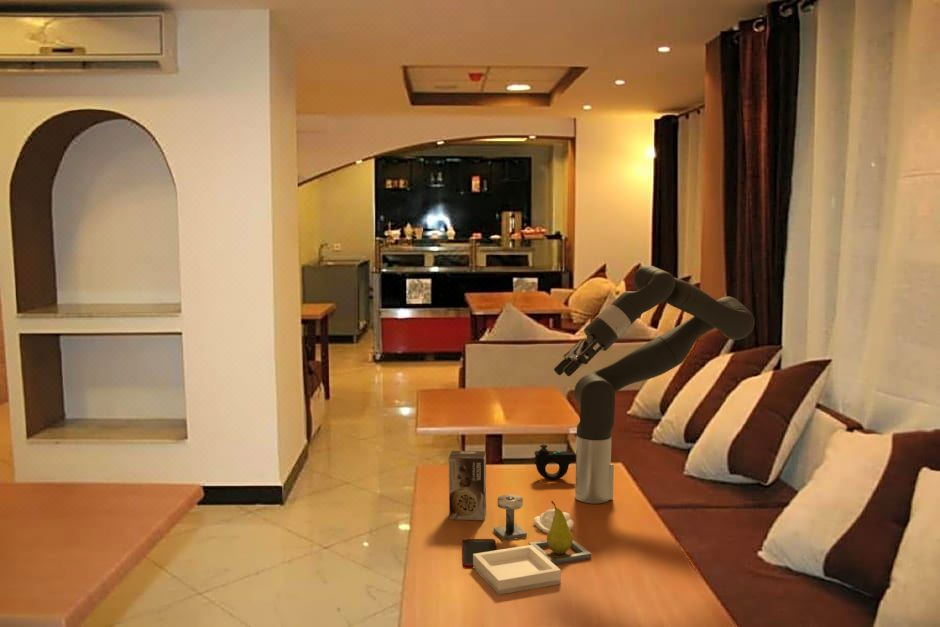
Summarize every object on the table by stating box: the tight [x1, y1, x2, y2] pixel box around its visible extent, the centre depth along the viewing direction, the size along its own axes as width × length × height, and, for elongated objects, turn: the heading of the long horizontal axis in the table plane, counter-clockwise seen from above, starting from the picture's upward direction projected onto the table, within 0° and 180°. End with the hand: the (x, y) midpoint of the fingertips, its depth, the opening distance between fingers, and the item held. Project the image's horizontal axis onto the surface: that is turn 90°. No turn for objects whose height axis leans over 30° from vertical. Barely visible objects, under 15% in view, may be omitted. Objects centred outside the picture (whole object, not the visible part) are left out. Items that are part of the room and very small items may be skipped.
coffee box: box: [448, 450, 487, 521], centre depth 210 cm, size 9×6×16 cm
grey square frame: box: [528, 539, 592, 566], centre depth 188 cm, size 10×10×1 cm
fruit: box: [546, 500, 574, 555], centre depth 187 cm, size 6×6×12 cm
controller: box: [533, 444, 576, 481], centre depth 239 cm, size 4×12×10 cm, turn 90°
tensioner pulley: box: [493, 494, 528, 541], centre depth 198 cm, size 6×6×9 cm
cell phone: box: [461, 538, 498, 569], centre depth 187 cm, size 8×15×1 cm, turn 1°
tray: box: [473, 544, 562, 596], centre depth 176 cm, size 14×14×3 cm
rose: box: [533, 508, 575, 534], centre depth 203 cm, size 10×4×10 cm
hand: (560, 373), depth 201 cm, fingers open, 8 cm apart
